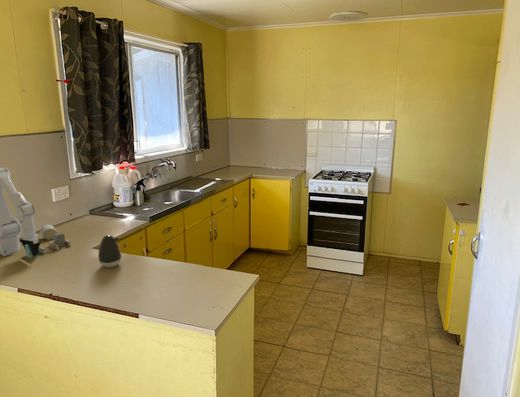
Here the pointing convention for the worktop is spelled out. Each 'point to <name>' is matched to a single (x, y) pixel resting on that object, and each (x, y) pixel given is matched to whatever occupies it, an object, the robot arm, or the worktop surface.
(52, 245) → the brown tray
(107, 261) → the dark grey egg shape
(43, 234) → the ceramic mug
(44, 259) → the worktop surface
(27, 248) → the teal plug
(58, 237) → the grey plug
